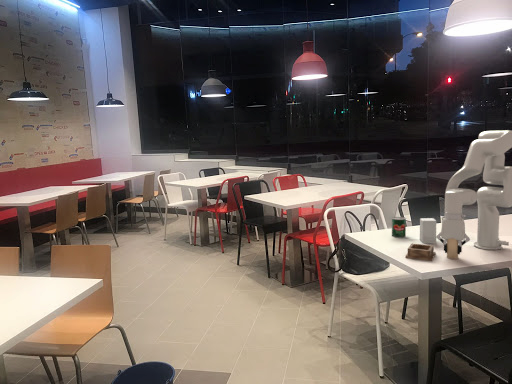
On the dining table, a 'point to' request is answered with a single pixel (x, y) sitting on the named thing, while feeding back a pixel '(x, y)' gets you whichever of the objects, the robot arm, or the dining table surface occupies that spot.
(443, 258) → the dining table surface
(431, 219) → the supplement box
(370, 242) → the dining table surface
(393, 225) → the canned tomato
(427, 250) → the brown wooden box
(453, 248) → the tan rectangular block
